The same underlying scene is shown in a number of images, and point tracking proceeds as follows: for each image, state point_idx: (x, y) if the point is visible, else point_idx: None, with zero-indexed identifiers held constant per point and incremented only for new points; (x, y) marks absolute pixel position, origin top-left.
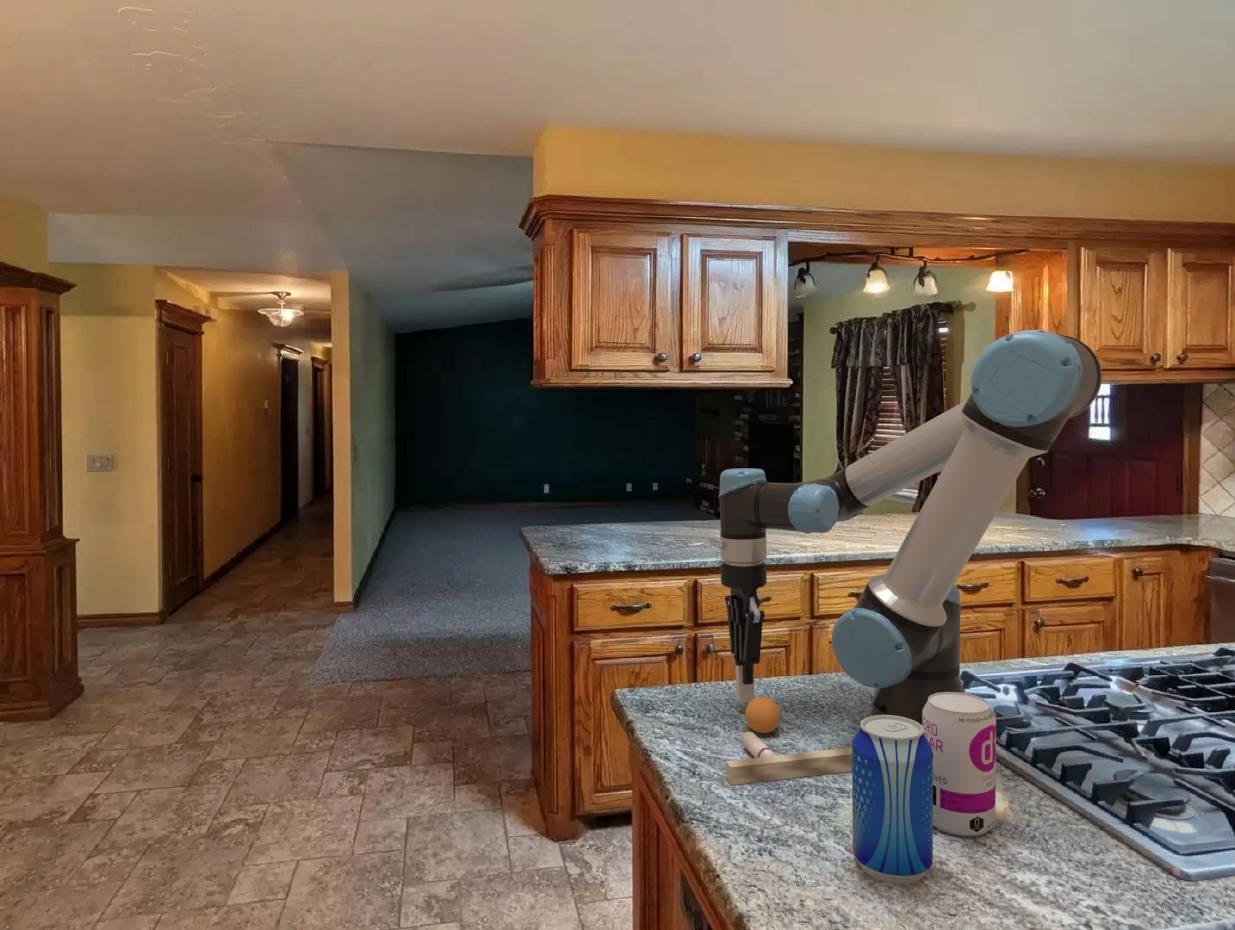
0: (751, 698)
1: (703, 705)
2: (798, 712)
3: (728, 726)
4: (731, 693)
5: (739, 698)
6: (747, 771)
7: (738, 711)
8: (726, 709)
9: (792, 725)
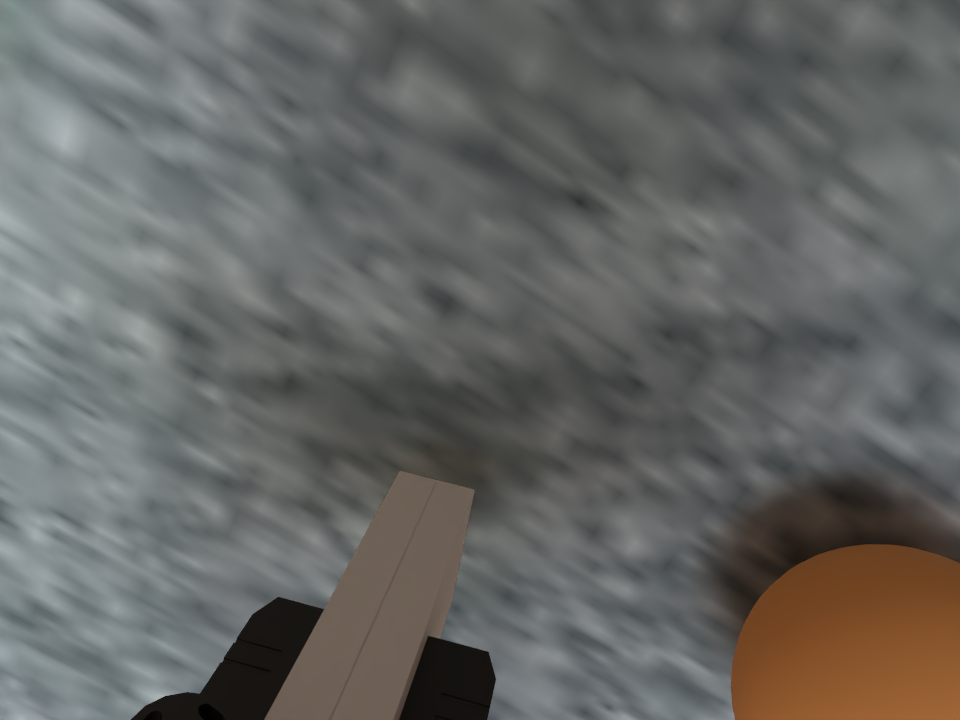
0: (463, 529)
1: (231, 641)
2: (660, 118)
3: (632, 714)
4: (63, 368)
5: (443, 624)
6: None
7: None
8: None
9: (883, 347)
